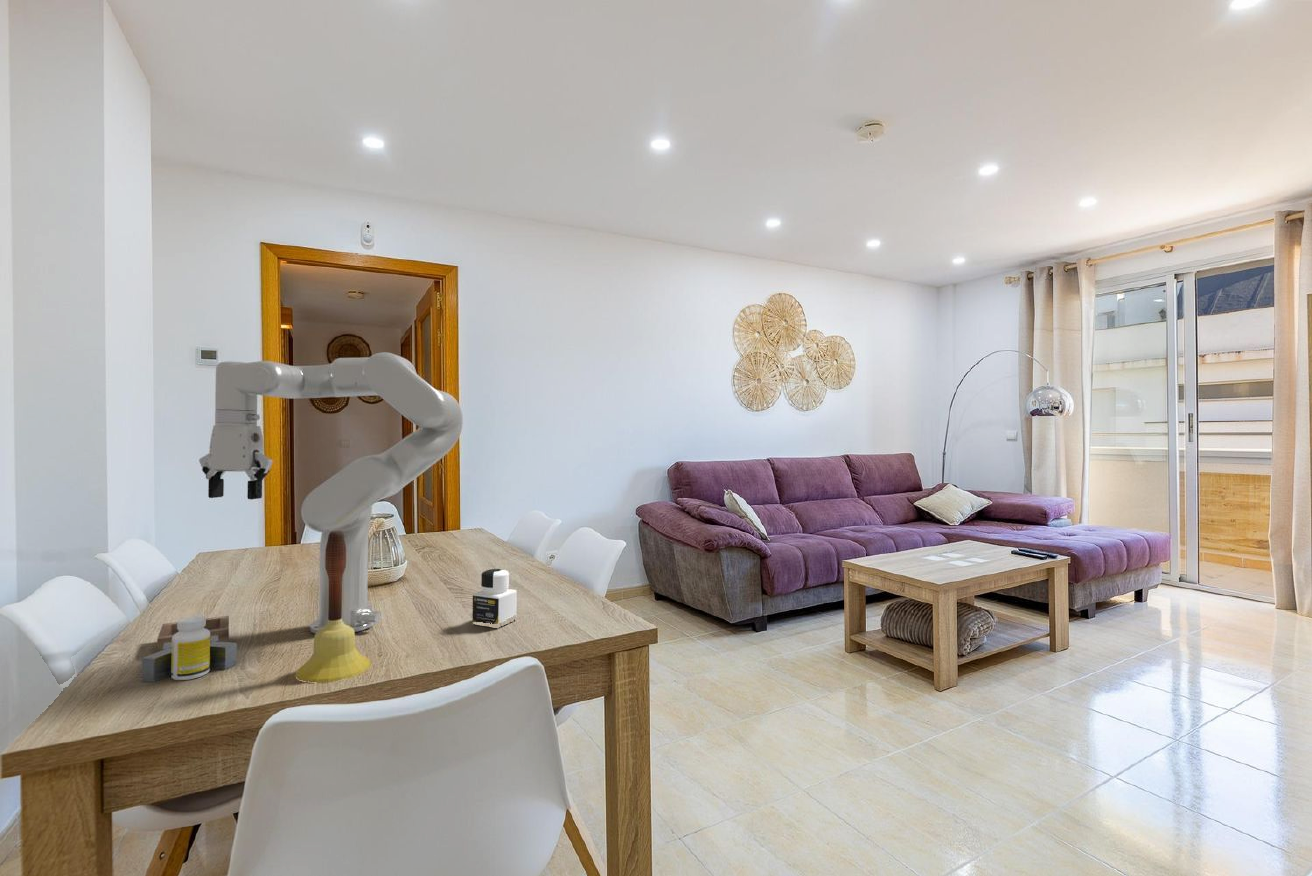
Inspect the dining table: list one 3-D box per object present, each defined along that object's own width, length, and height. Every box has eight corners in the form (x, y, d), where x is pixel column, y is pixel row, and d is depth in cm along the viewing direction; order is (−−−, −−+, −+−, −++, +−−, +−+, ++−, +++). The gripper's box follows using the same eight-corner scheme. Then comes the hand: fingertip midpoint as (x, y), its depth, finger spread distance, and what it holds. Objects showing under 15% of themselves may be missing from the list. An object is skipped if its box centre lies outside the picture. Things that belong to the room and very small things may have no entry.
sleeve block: (228, 631, 130) (228, 615, 130) (228, 646, 121) (228, 629, 121) (162, 641, 123) (162, 623, 123) (157, 657, 114) (157, 639, 114)
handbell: (383, 657, 116) (385, 527, 116) (352, 684, 104) (354, 537, 104) (318, 657, 116) (319, 526, 116) (279, 683, 104) (281, 536, 104)
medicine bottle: (471, 625, 137) (472, 572, 137) (491, 617, 143) (492, 566, 143) (497, 629, 134) (498, 575, 134) (516, 620, 141) (517, 568, 141)
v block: (144, 668, 109) (144, 645, 109) (234, 653, 117) (234, 632, 117) (140, 684, 102) (141, 660, 102) (236, 667, 110) (237, 645, 110)
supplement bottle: (217, 671, 108) (218, 616, 108) (185, 683, 103) (185, 625, 103) (196, 667, 110) (196, 613, 110) (163, 678, 105) (164, 621, 105)
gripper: (284, 420, 134) (283, 497, 134) (217, 419, 137) (216, 495, 137) (257, 419, 127) (255, 501, 127) (186, 418, 130) (185, 498, 130)
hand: (235, 498), depth 132 cm, fingers open, 9 cm apart
